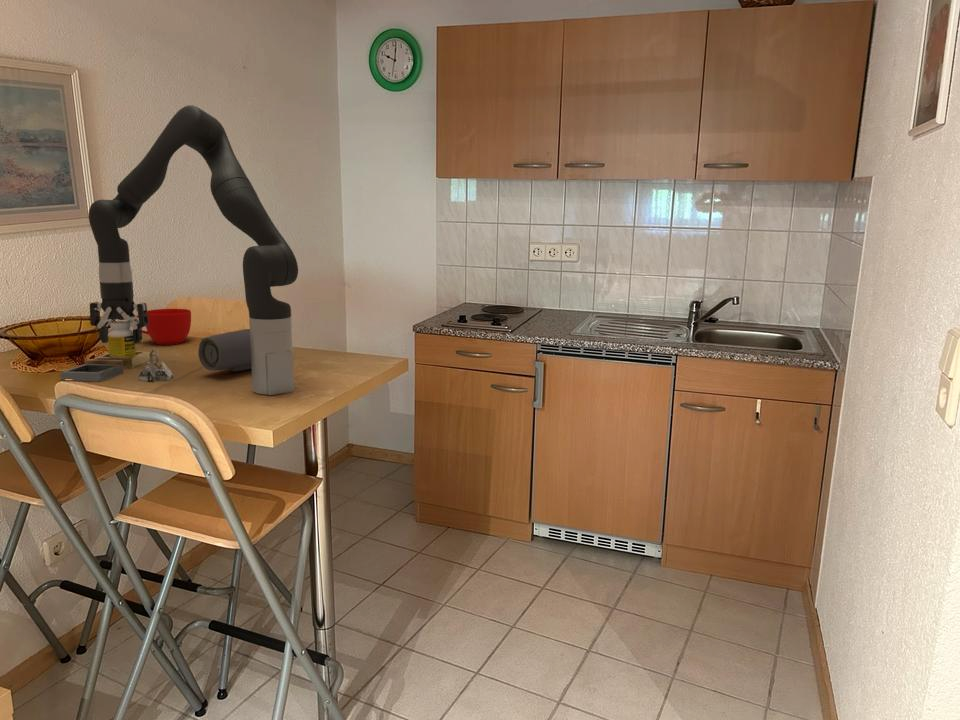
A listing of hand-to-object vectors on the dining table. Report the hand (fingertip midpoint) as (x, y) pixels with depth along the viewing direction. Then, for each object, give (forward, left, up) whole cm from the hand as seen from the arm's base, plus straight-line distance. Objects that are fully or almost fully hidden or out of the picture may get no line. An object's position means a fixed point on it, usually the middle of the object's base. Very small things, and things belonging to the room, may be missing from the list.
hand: (121, 342), depth 186 cm
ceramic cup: (+23, -17, -6) cm, 29 cm away
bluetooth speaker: (-23, -24, -6) cm, 34 cm away
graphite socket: (-11, +10, -6) cm, 16 cm away
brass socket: (0, 0, -6) cm, 6 cm away
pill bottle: (0, 0, -6) cm, 6 cm away
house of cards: (-24, 0, -6) cm, 25 cm away
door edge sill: (-5, +6, -6) cm, 9 cm away
